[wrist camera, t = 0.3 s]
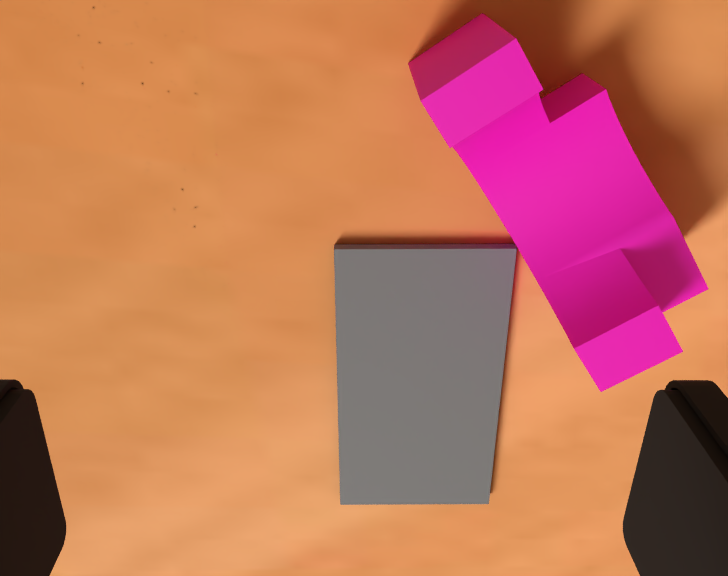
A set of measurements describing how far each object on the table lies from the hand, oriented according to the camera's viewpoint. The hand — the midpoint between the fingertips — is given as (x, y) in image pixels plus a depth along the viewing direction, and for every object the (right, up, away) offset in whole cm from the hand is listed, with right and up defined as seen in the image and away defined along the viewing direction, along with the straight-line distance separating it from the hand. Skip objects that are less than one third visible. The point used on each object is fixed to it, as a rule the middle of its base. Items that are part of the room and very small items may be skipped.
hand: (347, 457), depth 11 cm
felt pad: (+3, -3, +28) cm, 28 cm away
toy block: (+9, +9, +22) cm, 26 cm away
